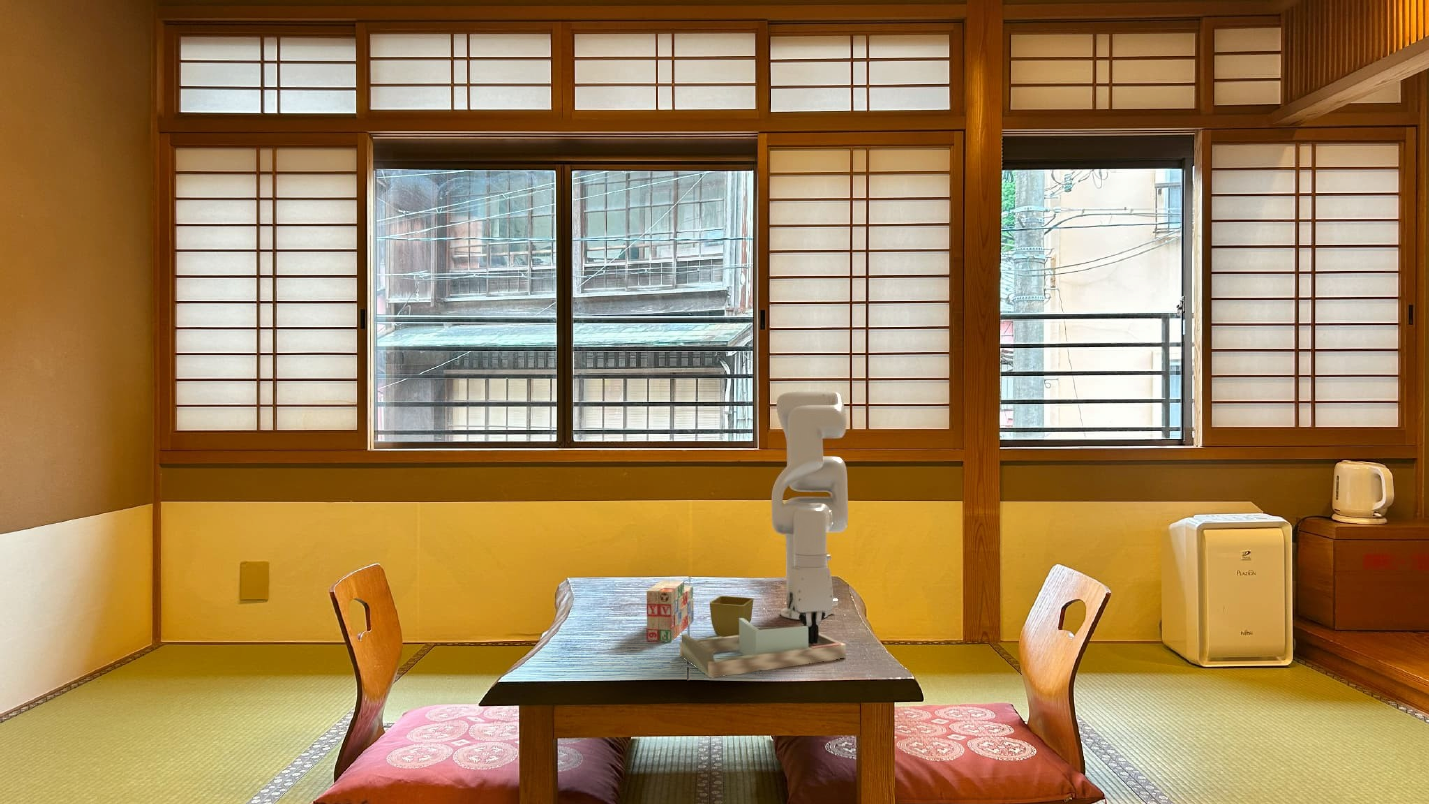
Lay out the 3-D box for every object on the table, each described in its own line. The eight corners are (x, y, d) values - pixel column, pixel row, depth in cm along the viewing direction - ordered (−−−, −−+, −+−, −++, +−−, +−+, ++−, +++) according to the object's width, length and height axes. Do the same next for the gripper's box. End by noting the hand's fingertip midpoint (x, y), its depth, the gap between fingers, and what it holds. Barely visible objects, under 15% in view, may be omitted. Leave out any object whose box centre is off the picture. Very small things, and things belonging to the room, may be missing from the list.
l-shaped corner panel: (808, 661, 180) (808, 626, 180) (756, 666, 176) (755, 631, 177) (788, 647, 191) (788, 614, 191) (739, 651, 188) (739, 618, 188)
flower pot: (754, 634, 203) (754, 597, 203) (744, 643, 195) (743, 605, 195) (720, 631, 206) (720, 595, 206) (708, 640, 197) (708, 602, 198)
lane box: (806, 639, 198) (805, 618, 198) (846, 658, 182) (845, 635, 182) (679, 655, 185) (679, 633, 185) (710, 678, 169) (710, 653, 169)
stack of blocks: (671, 620, 219) (670, 573, 219) (694, 621, 217) (693, 574, 217) (646, 641, 198) (646, 589, 198) (671, 642, 196) (671, 590, 197)
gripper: (829, 556, 195) (830, 635, 194) (773, 561, 189) (774, 642, 188) (847, 561, 188) (848, 642, 188) (789, 566, 182) (790, 650, 182)
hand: (811, 642), depth 188 cm, fingers closed
